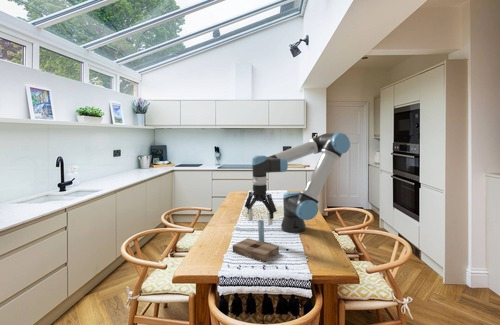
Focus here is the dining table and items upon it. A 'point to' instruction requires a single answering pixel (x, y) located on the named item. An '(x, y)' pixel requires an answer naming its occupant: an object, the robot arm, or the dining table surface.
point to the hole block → (256, 249)
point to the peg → (261, 230)
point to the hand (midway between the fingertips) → (260, 222)
